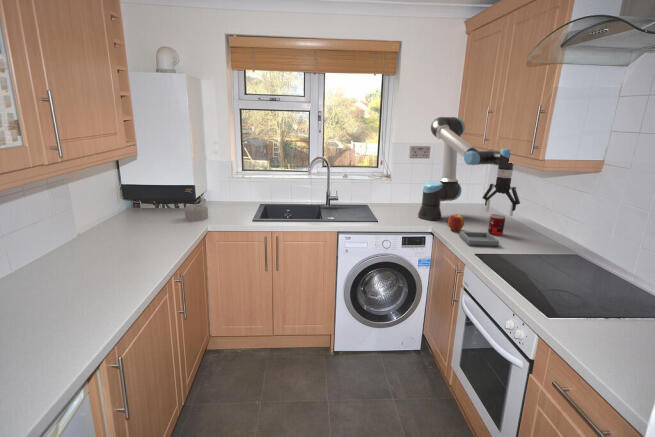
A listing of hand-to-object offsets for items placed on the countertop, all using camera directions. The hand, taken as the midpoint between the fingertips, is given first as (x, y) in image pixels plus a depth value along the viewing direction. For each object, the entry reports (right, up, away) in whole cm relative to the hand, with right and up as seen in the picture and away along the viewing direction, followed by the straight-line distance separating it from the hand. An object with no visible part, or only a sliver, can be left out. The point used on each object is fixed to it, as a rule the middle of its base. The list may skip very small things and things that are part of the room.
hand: (498, 213), depth 215 cm
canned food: (-1, -12, +4) cm, 13 cm away
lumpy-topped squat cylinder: (-178, -3, +15) cm, 179 cm away
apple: (-22, -10, +8) cm, 26 cm away
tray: (-16, -15, -10) cm, 24 cm away
